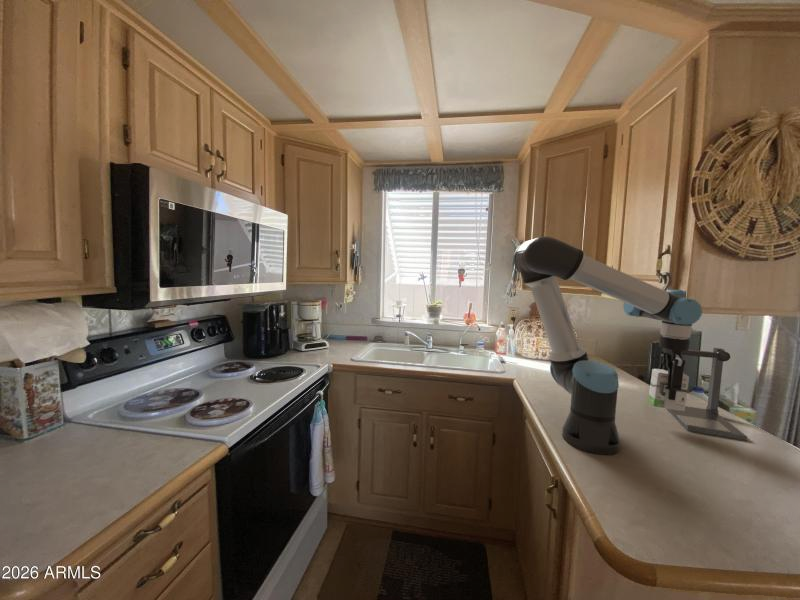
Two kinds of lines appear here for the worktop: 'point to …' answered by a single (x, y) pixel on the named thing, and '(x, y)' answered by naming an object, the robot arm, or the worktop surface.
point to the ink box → (658, 389)
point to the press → (709, 411)
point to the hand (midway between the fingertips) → (665, 405)
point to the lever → (708, 354)
